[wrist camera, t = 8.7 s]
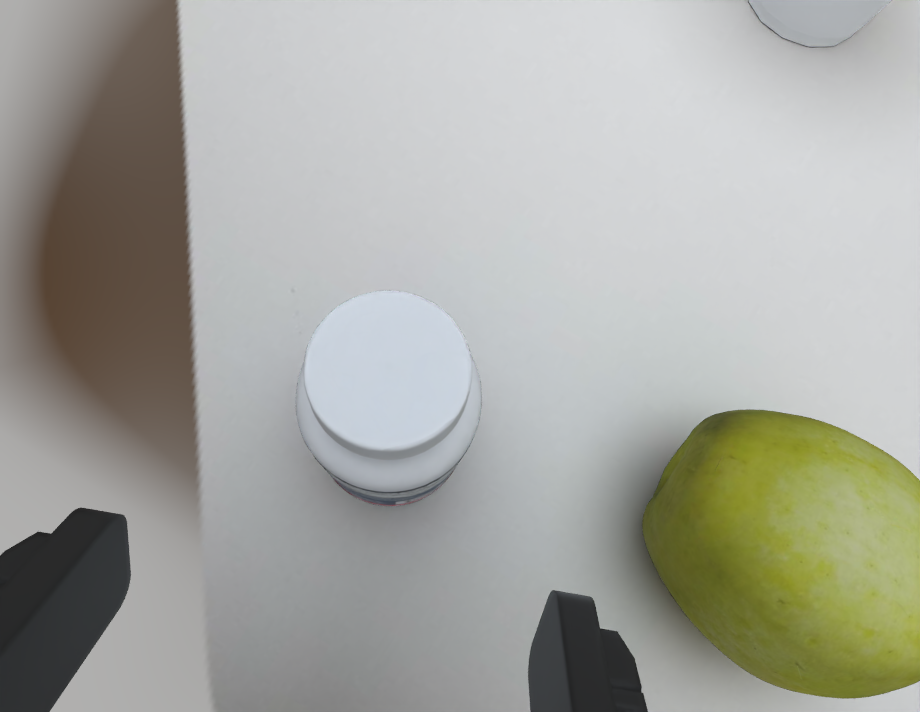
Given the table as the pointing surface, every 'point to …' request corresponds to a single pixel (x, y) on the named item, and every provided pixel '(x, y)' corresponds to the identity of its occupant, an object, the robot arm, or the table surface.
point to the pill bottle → (388, 396)
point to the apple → (793, 551)
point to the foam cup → (816, 18)
